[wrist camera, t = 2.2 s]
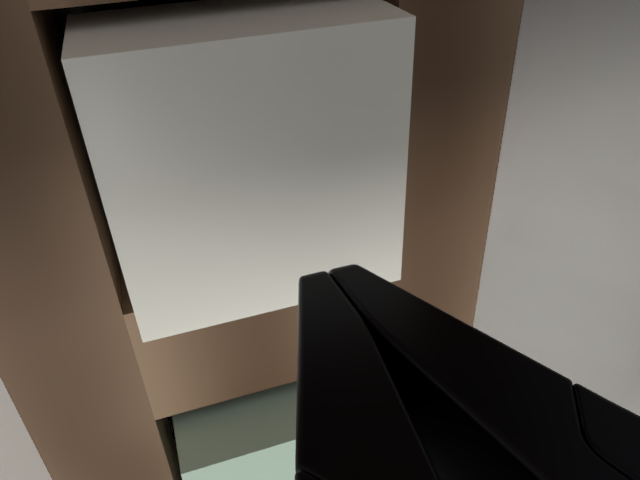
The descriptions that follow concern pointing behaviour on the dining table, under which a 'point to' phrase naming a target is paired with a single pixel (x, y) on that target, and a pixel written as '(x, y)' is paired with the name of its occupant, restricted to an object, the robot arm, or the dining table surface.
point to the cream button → (244, 147)
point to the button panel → (231, 337)
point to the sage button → (240, 437)
